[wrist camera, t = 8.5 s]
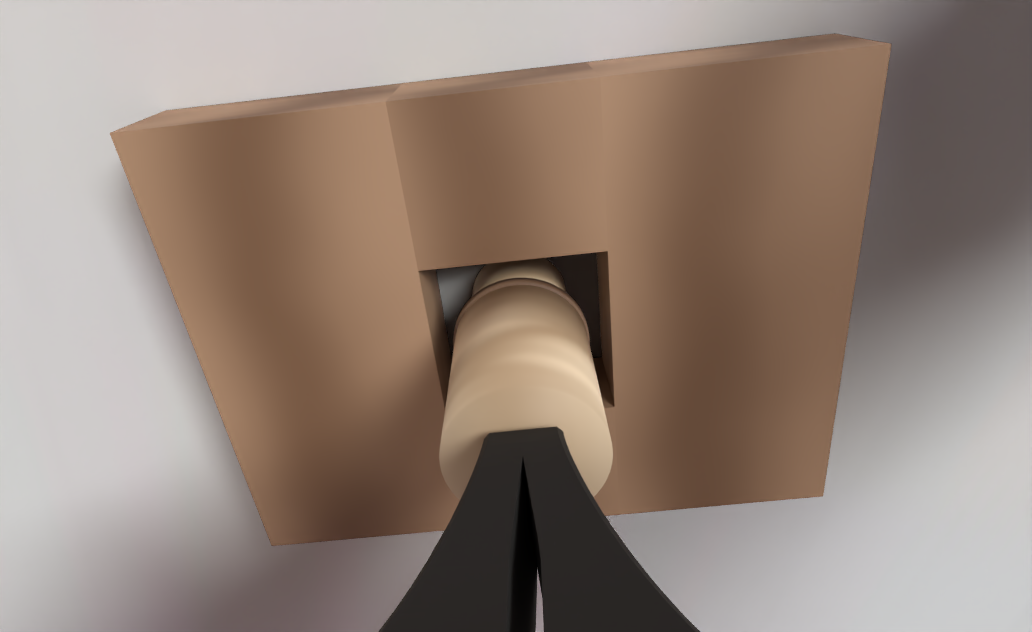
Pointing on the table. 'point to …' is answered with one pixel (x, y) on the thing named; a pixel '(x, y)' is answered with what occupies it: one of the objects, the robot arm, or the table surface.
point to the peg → (522, 372)
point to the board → (520, 236)
